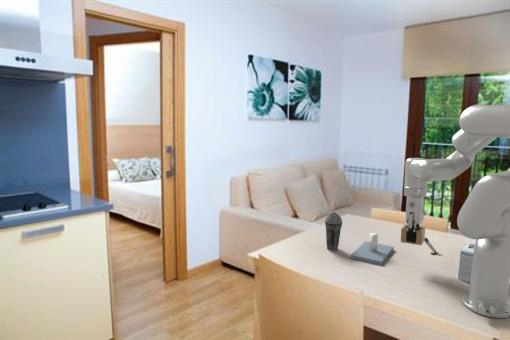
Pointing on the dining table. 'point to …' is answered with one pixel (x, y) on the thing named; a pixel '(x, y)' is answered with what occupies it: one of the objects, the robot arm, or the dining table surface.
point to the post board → (372, 251)
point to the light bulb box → (466, 262)
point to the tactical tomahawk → (431, 247)
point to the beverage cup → (333, 230)
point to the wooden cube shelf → (419, 235)
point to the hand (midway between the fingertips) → (412, 239)
